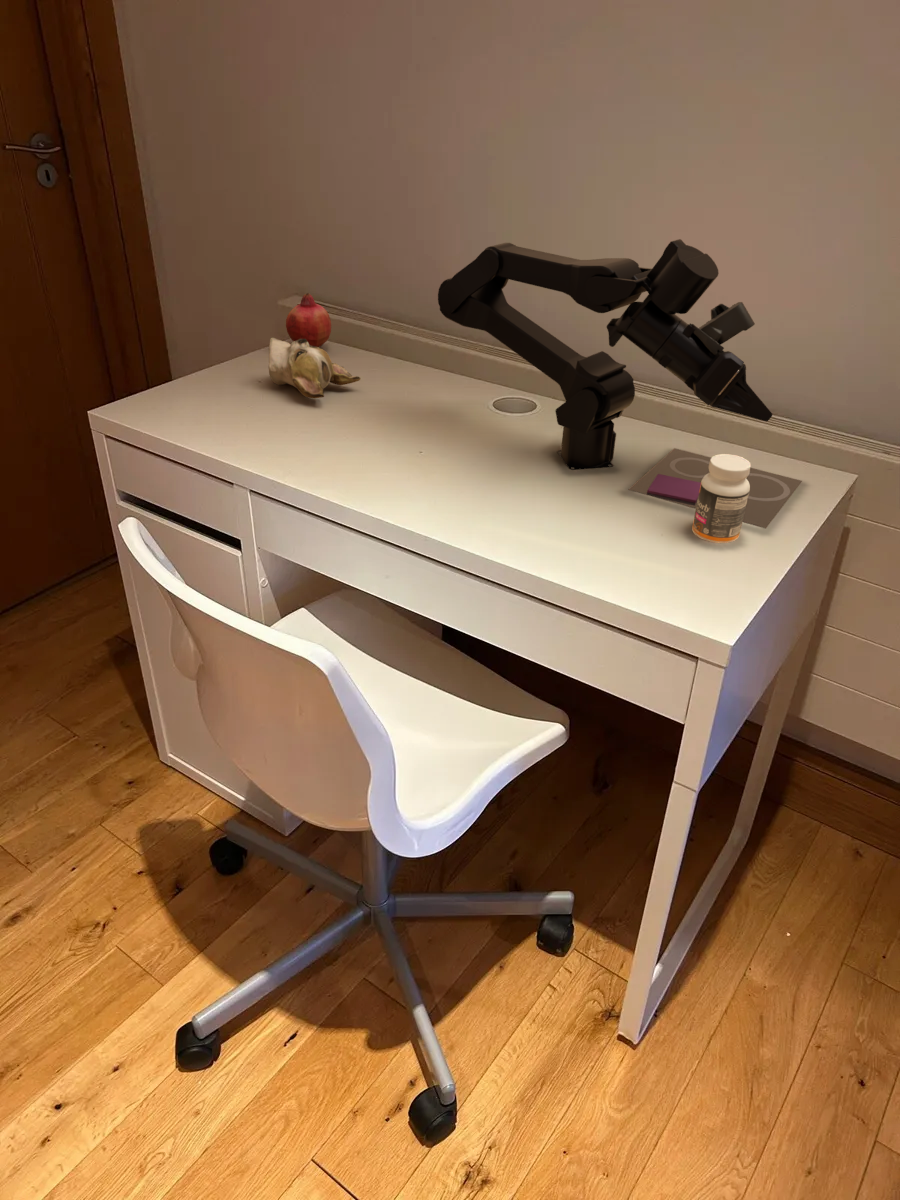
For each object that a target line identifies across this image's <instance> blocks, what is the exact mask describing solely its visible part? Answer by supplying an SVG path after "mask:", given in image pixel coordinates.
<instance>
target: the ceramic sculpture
mask: <svg viewBox="0 0 900 1200" xmlns="http://www.w3.org/2000/svg"><path fill="white" fill-rule="evenodd" d="M267 369H268V375H269V377H270V379H271V381H272V382H273V383H274V384H275V385H278V386H280V385H281V386H282V385H290V386H292V387H294V388H295V389H297V390H298V392H300V394H301V395H302V396H304V397H305V398H308V399H321V398H324V397H325V395H324V389H325V388H327V386H329V384H333V385H335V386H344V385H350V384H353V383H356V382H360V381H361V377H360V376H357V375H355V376H353V375H352V373H350V372H349V371H347V369H346V368H345V367H343V366H341V365H338V364H337V363H336V362H332V360H331V357H330V355H329V354H328V352H327V351H326V350H325V349H323V348H320V346H319V347H316V346H310V345H309V343H308V341H307V340H306V339H299V340H296V341H292V342H291V343H289V342H288V341H284V340H280V339H278V338H275V337H270V339H269V347H268V366H267Z"/></svg>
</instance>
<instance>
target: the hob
mask: <svg viewBox="0 0 900 1200" xmlns="http://www.w3.org/2000/svg"><path fill="white" fill-rule="evenodd" d="M711 458H712V456H707V455H703V454H700V453H695V452H691V451H687V450H684V449H679V448H675V447H674V448H673V449H671V451H670V452H668V453H667V454H666V455H665V456H664V457H662V458H661V459H660V460H659V461H658V462H657V463H656V464H655V465H654V466H653V467H651V469H649V470H648V471H647V472H646V473H645V474H644V475H642V476H641V477H640V478H639V479H638V480H637V481H636V482H635V483H634V484H633V485H632V486H630V487H629V488H628V491H631V492H635V493H637V494H642V495H645V496H649V497H652V498H656V499H658V500H663V501H667V502H671V503H674V504H677V505H681V506H684V507H689V508H691V509H694V510H696V506H697V501H698V499H697V501H696V502H695V503H693V502H688V501H684V500H679V499H674V498H670V497H665V496H660V495H656V494H651V493H647V490H648V488H649V487H650V485H651V484H652V482H653V481H654V479H655V478H656V476H657V475H658V474H661V475H666V476H671V477H676V478H681V479H686V480H690V481H695V482H700V483H701V481H702V479H703V477H704V476H705V475H706V474H708V473H710V472H709V463H710V459H711ZM746 479H747V480H748V482H749V484H750V491H749V496H748V500H747V504H746V508H745V513H744V517H743V522H742V523H744V524H747V525H751V526H755V527H758V528H762V529H767V528H768V527H769V525H770V524H771V523H772V521H774V519H775V517H777V515H778V513H780V511H781V510H782V508H783V507H784V506H785V504H786V503H787V502H788V500H789V499H790V498H791V497H792V496H793V494H794V493H795V492H796V490H797V489H798V488H799V487H800V485H801V484H802V483H803V480H800V479H797V478H792V477H789V476H785V475H782V474H777V473H774V472H769V471H765V470H762V469H757V468H753V467H750V473H749V475H748V476H747V478H746Z"/></svg>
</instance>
